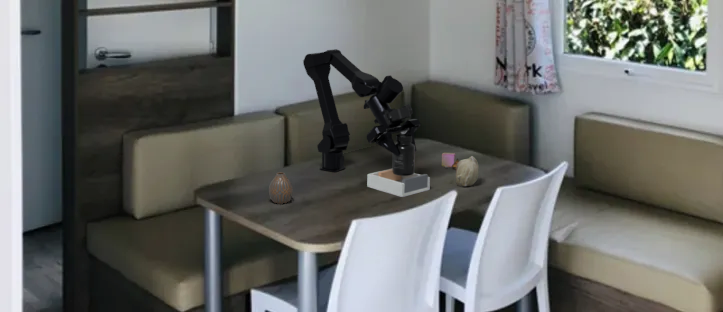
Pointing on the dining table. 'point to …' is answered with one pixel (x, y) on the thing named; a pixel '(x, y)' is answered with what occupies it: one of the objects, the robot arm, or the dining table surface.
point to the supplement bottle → (404, 156)
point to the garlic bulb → (467, 172)
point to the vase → (280, 189)
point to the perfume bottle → (449, 160)
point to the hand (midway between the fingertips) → (407, 153)
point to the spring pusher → (389, 175)
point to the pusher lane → (399, 184)
